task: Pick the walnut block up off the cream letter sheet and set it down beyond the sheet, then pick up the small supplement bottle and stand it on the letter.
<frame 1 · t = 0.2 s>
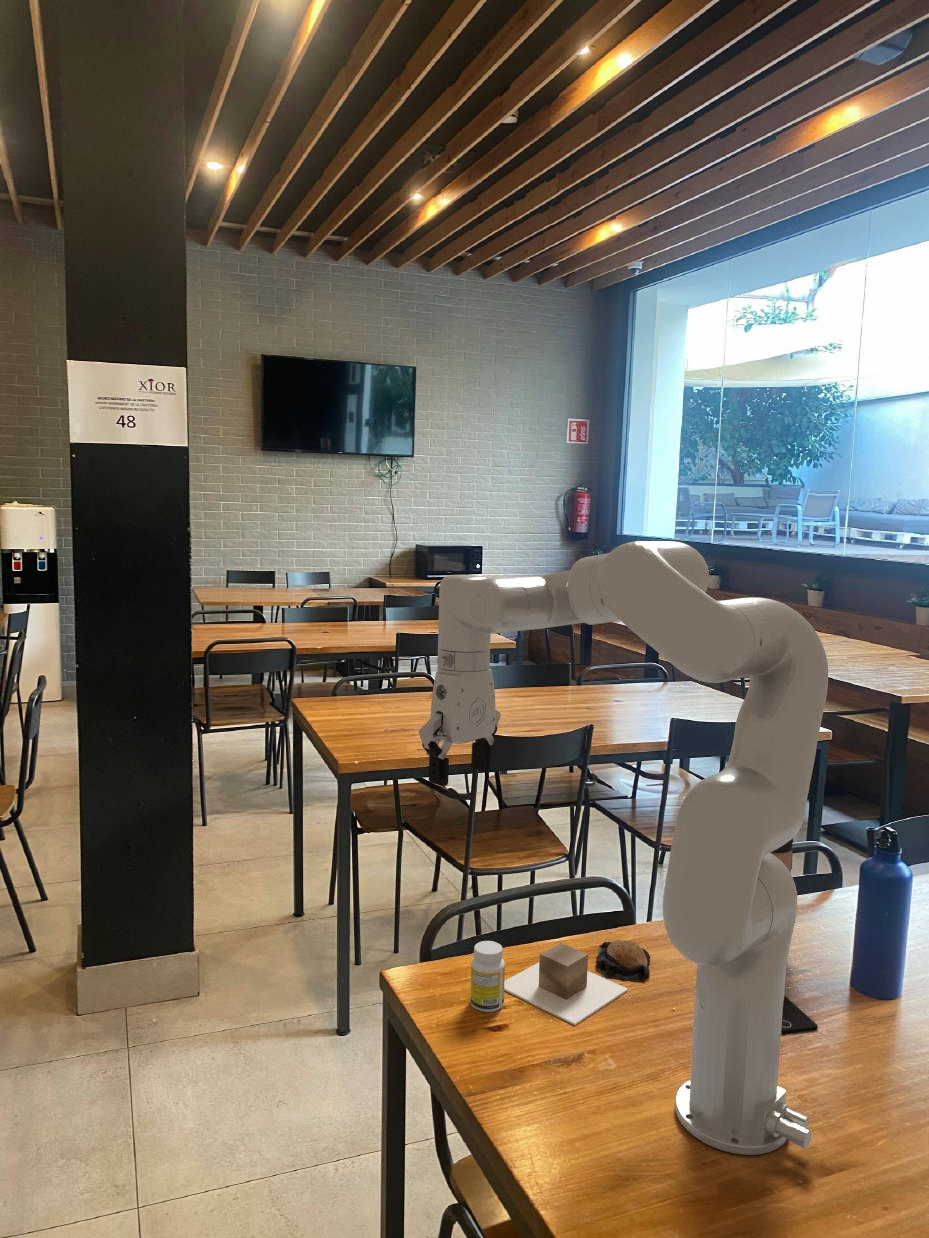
hand: (460, 776, 130), 31 cm above the table, tool pointing down, fingers open, 9 cm apart
letter: (562, 988, 130), on the table
walnut block: (562, 986, 130), resting on letter
cell phone: (753, 1002, 129), on the table
supplement bottle: (486, 1005, 125), on the table
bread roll: (623, 967, 138), on the table
travel mug: (760, 950, 144), on the table
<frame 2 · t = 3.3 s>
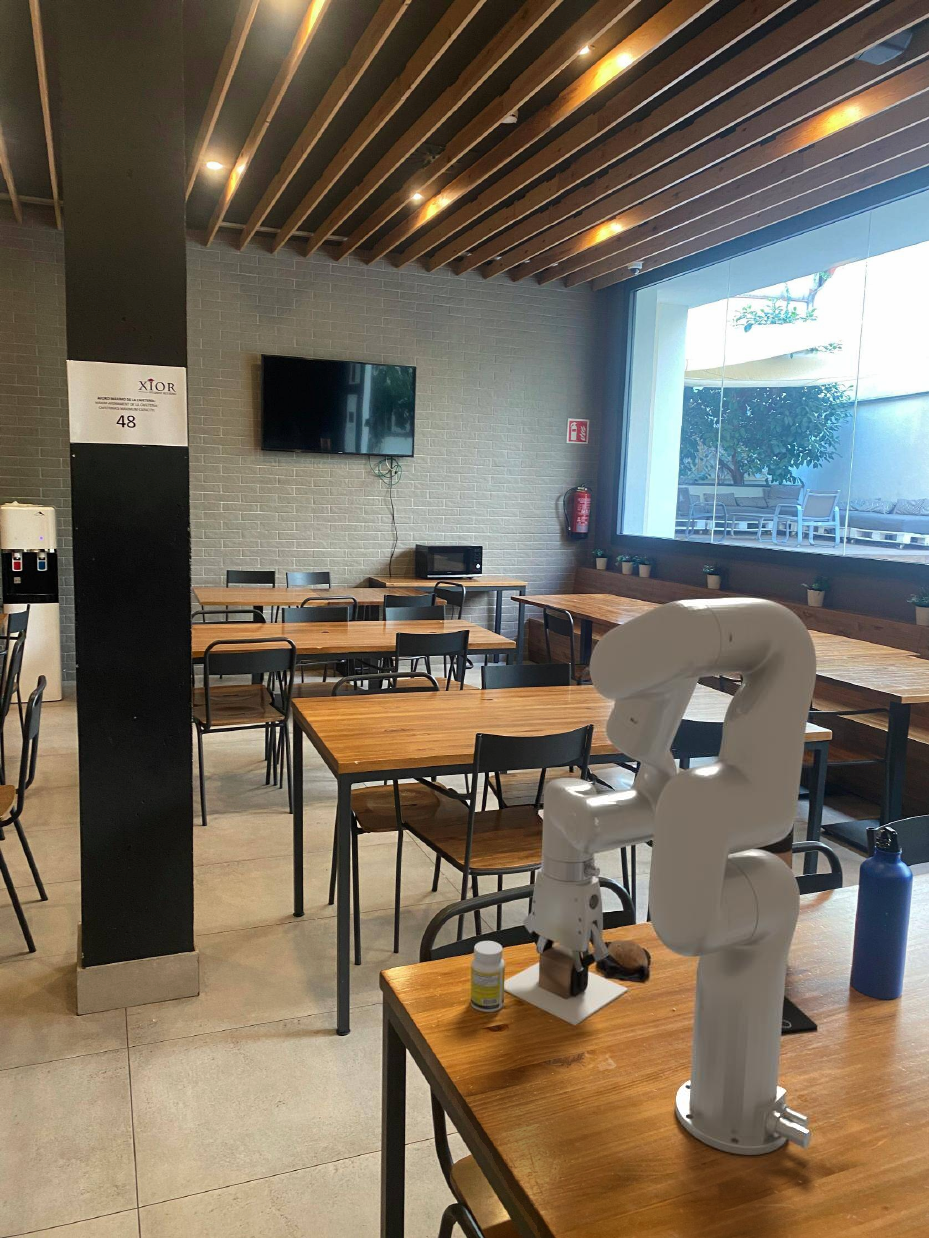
hand: (562, 983, 130), 1 cm above the table, tool pointing down, fingers closed on walnut block, 5 cm apart
walnut block: (562, 986, 130), resting on letter, touching gripper
everything else where it was.
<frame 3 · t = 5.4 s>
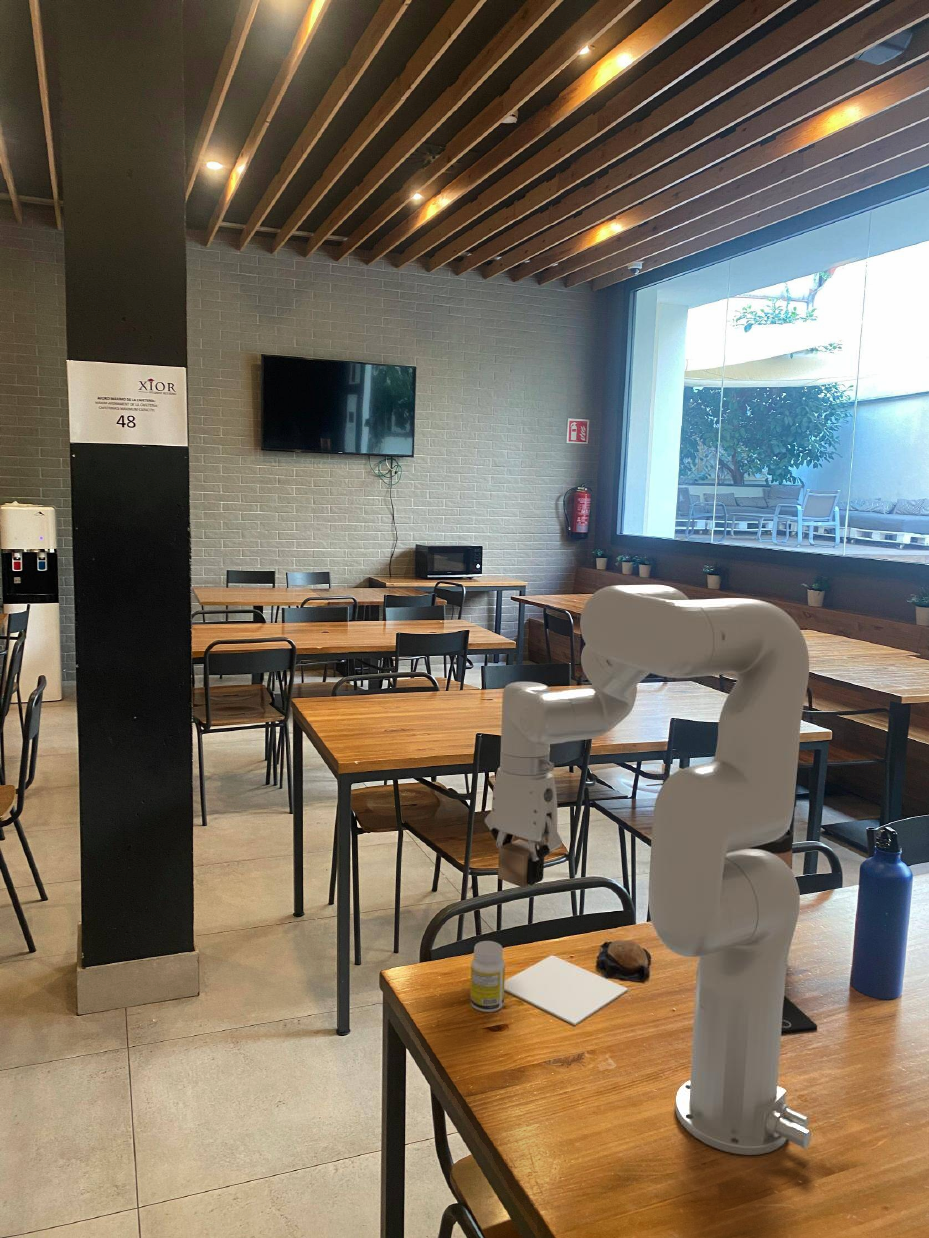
hand: (520, 875, 138), 13 cm above the table, tool pointing down, fingers closed on walnut block, 5 cm apart
walnut block: (520, 878, 138), point 13 cm above the table, touching gripper
everything else where it was.
when the fingers open (2 cm above the table, at t = 7.6 s): walnut block drops 2 cm, on the table.
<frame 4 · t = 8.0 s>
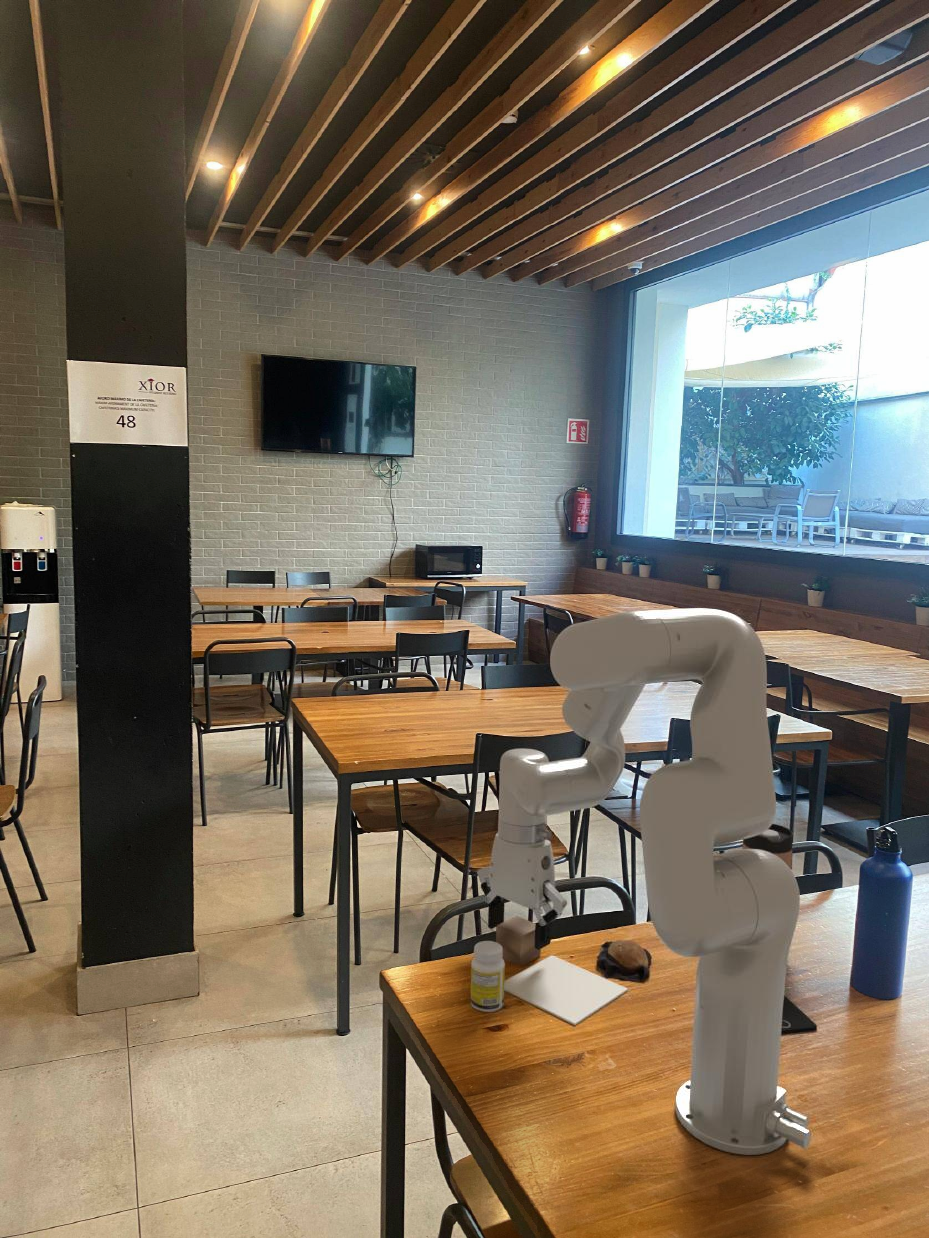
hand: (518, 935, 139), 3 cm above the table, tool pointing down, fingers open, 9 cm apart
walnut block: (518, 956, 140), on the table
everything else where it was.
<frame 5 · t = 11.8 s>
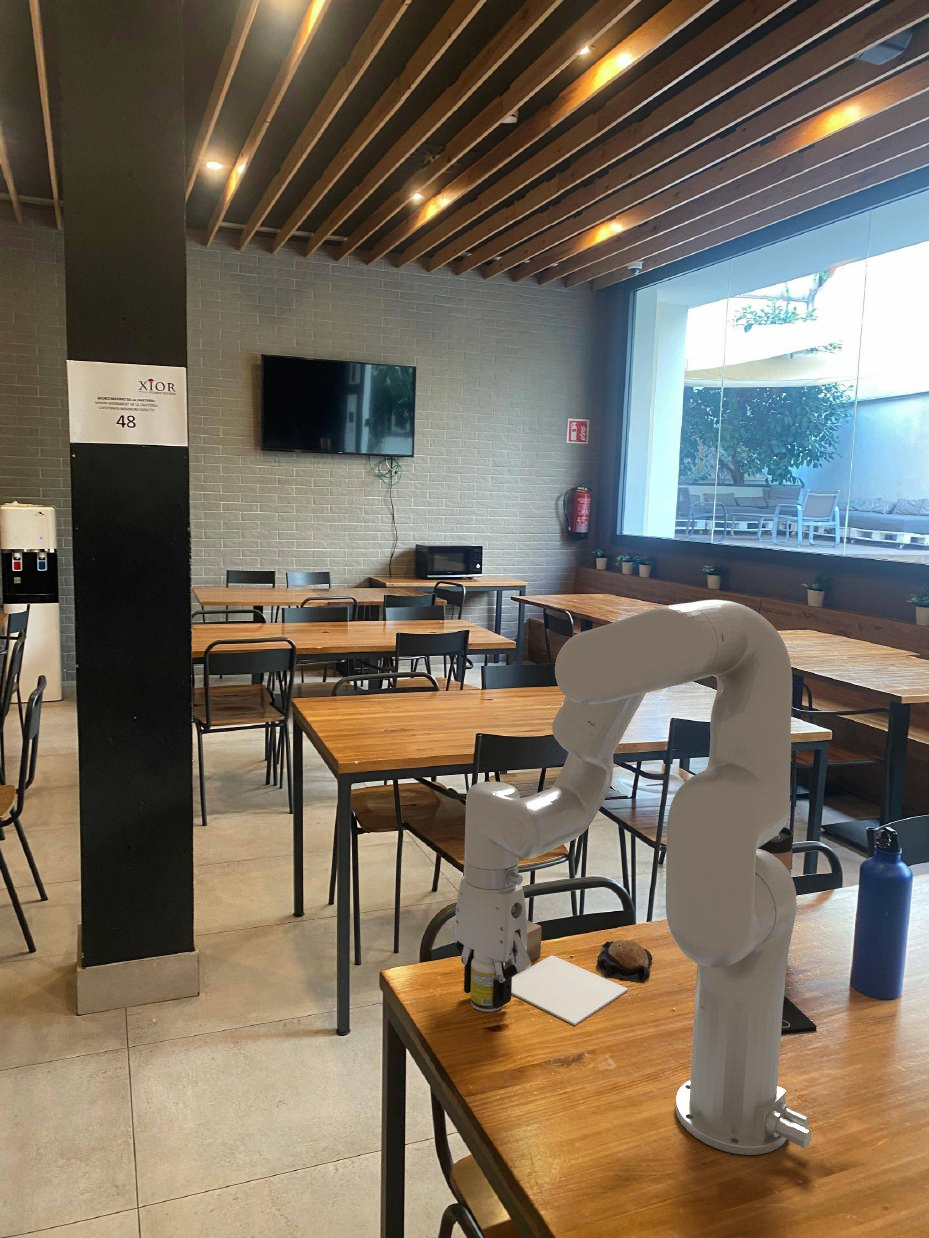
hand: (487, 995, 125), 1 cm above the table, tool pointing down, fingers closed on supplement bottle, 4 cm apart
supplement bottle: (486, 1005, 125), on the table, touching gripper
everything else where it was.
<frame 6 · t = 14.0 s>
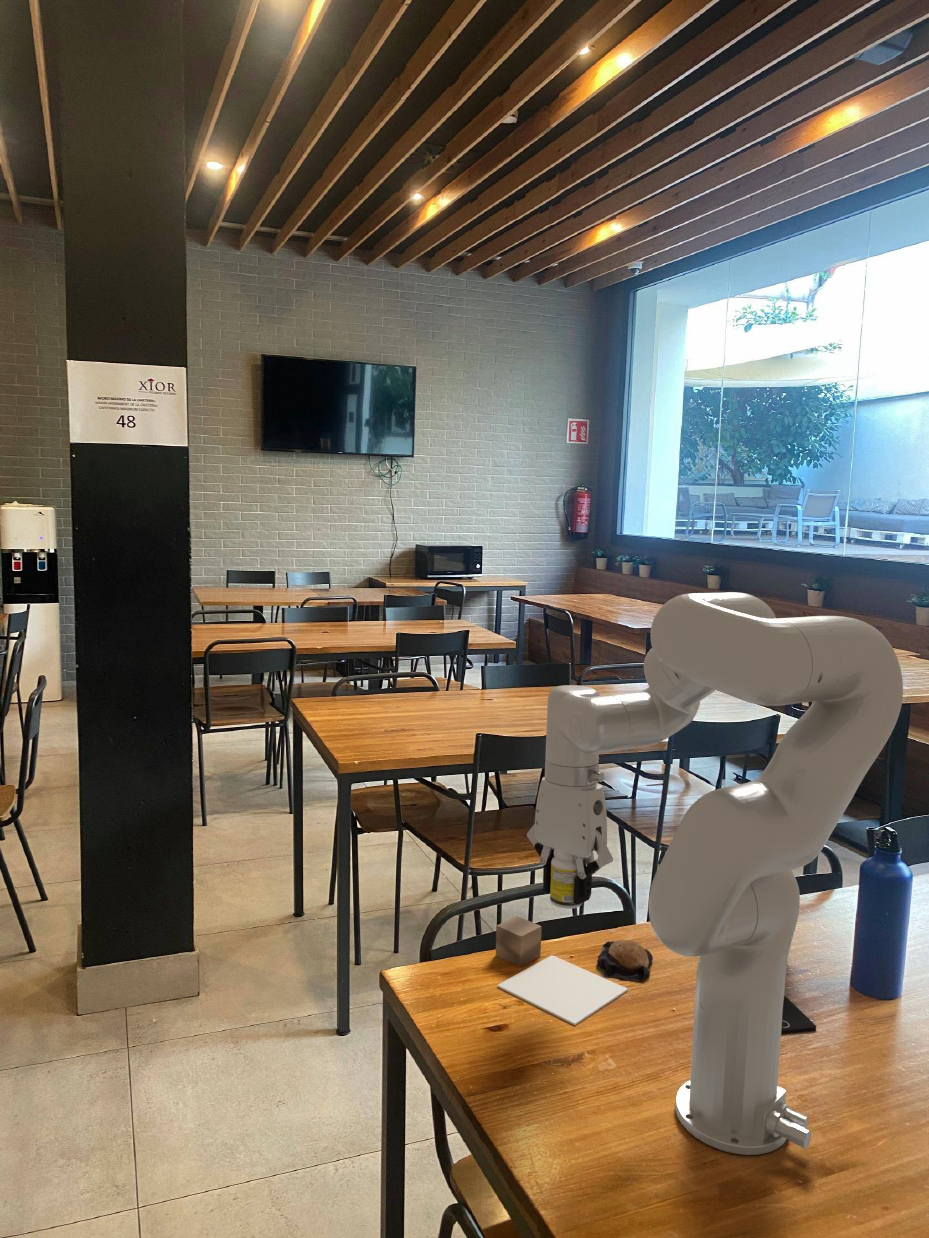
hand: (566, 894, 128), 14 cm above the table, tool pointing down, fingers closed on supplement bottle, 4 cm apart
supplement bottle: (566, 903, 129), point 13 cm above the table, touching gripper
everything else where it was.
when the fingers open (3 cm above the table, at t = 16.3 s): supplement bottle drops 1 cm, resting on letter.
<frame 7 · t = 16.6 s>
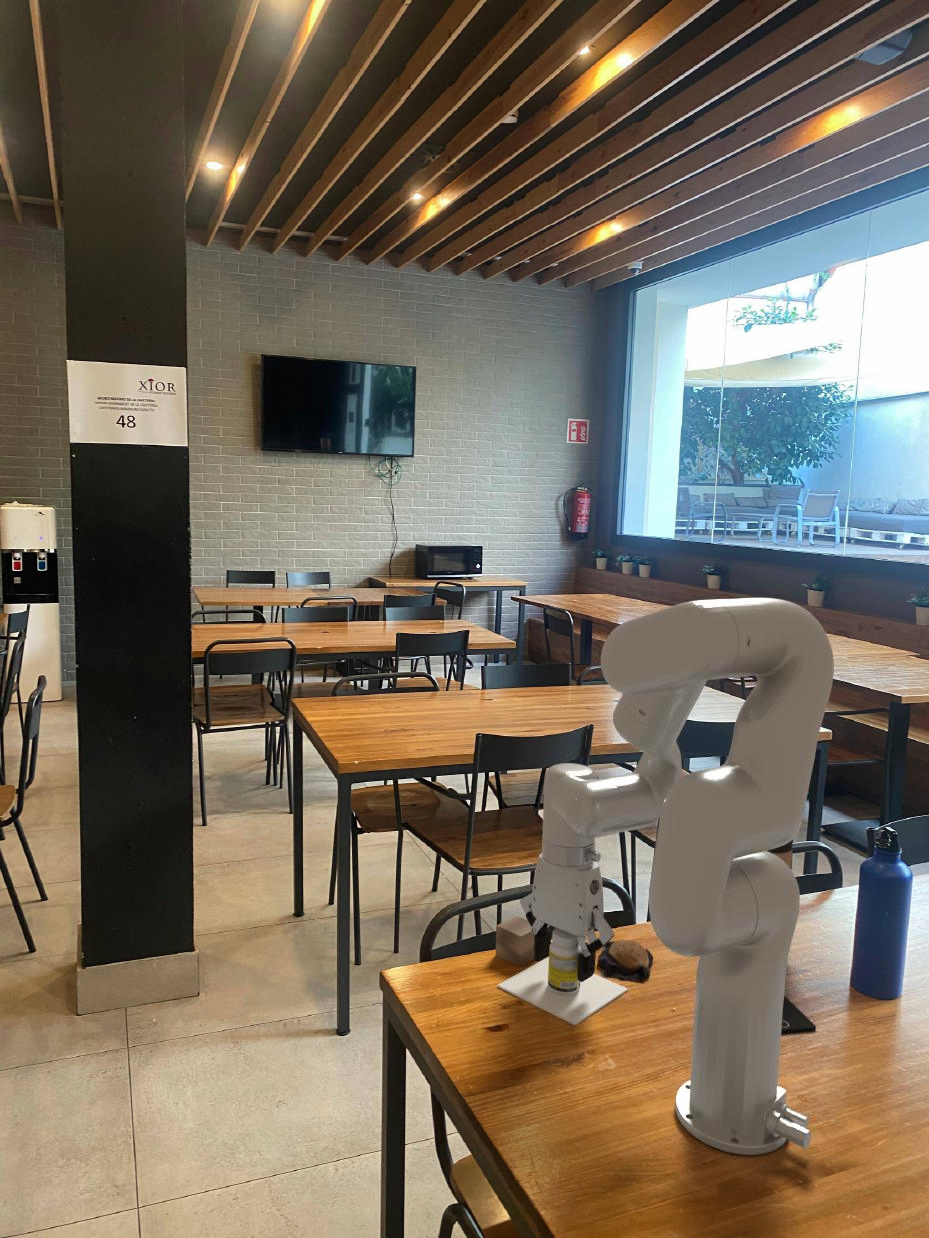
hand: (563, 967, 130), 3 cm above the table, tool pointing down, fingers open, 7 cm apart
supplement bottle: (563, 988, 130), resting on letter
everything else where it was.
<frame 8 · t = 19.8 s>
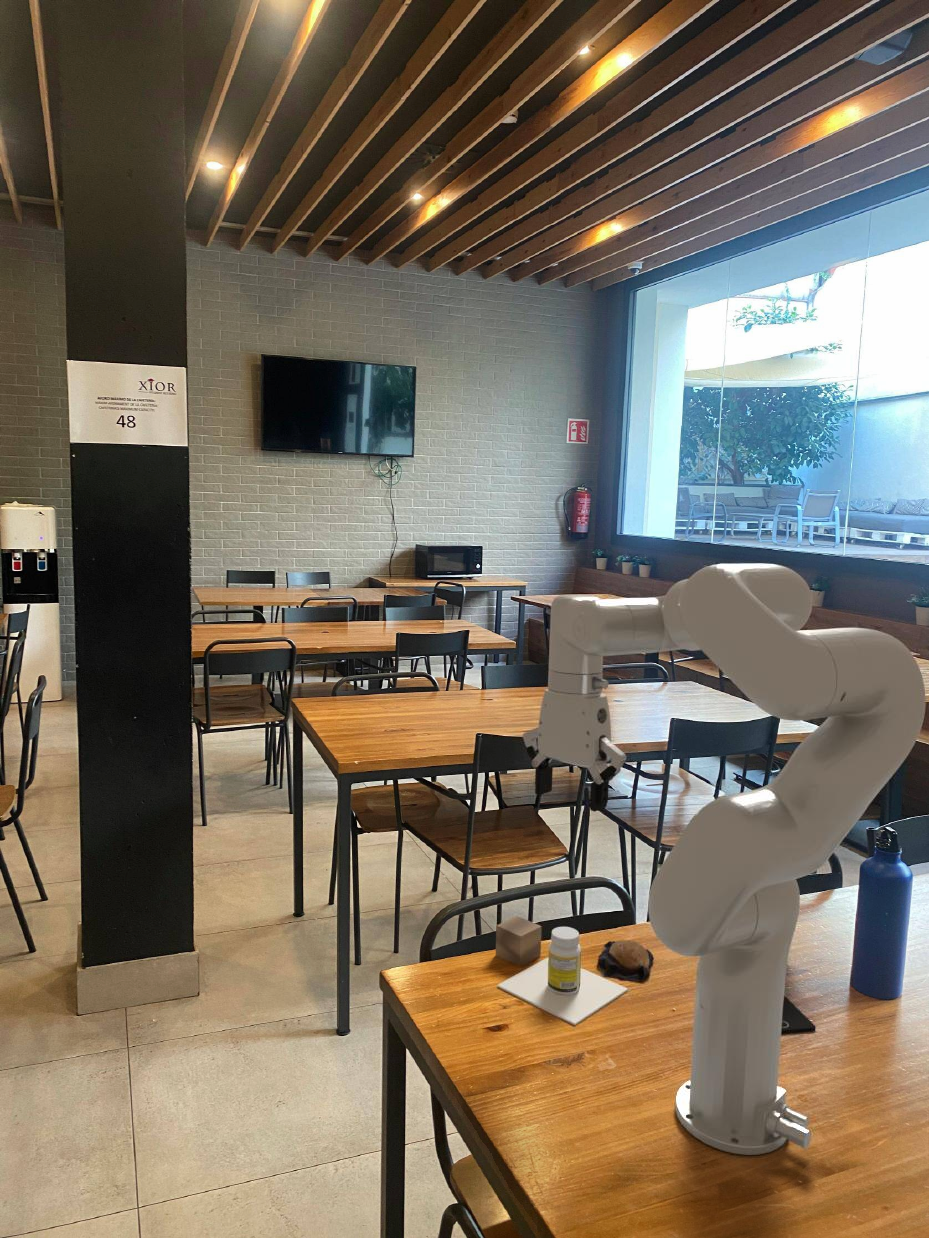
hand: (570, 800, 127), 28 cm above the table, tool pointing down, fingers open, 9 cm apart
nothing on the table moved.
at the end: supplement bottle inside the target area on the letter (0.2 cm from its centre), point 0.1 cm above the letter's base; supplement bottle tilted 0°; walnut block inside the target area (4.8 cm from its centre), on the table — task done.
